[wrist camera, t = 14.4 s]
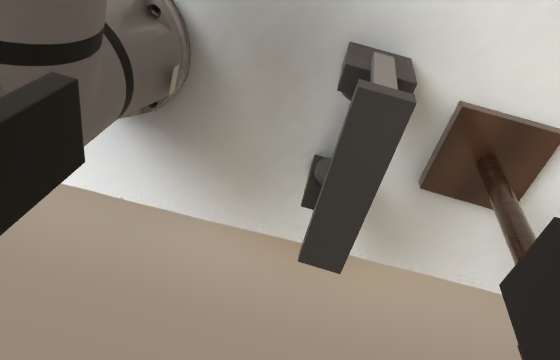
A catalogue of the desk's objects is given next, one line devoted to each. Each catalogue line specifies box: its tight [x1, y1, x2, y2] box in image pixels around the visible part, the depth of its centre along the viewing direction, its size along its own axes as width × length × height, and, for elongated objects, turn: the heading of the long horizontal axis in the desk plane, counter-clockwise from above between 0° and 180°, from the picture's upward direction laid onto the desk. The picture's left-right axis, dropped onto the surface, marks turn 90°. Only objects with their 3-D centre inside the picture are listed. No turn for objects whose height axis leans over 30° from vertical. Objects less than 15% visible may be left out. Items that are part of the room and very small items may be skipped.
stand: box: [419, 101, 560, 360], centre depth 33 cm, size 10×10×22 cm
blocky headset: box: [298, 42, 417, 274], centre depth 37 cm, size 6×17×14 cm, turn 168°
